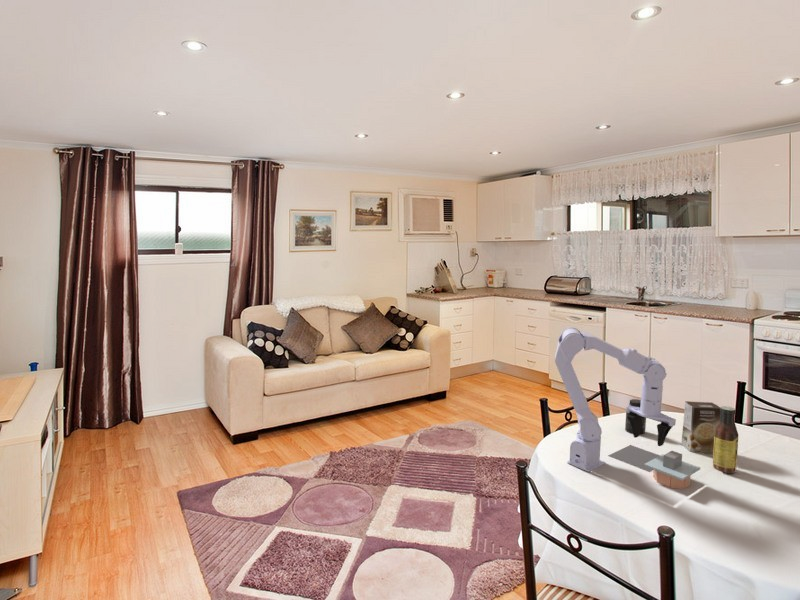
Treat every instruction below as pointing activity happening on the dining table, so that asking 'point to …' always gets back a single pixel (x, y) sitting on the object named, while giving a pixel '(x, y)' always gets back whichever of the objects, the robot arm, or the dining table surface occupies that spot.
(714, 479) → the dining table surface
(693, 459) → the dining table surface
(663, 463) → the cover
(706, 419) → the coffee box
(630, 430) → the supplement bottle
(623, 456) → the mat
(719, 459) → the sauce bottle
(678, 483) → the bowl
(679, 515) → the dining table surface
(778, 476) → the dining table surface
